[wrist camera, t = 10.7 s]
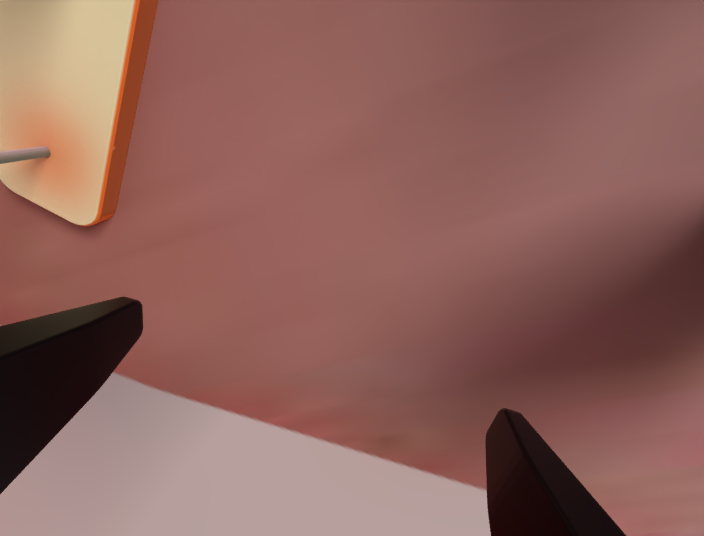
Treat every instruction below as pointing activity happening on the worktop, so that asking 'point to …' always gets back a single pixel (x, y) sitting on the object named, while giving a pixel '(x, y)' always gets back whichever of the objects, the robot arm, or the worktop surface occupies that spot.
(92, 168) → the crank mechanism
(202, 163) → the worktop surface
